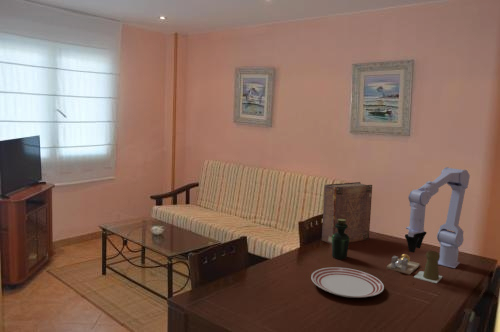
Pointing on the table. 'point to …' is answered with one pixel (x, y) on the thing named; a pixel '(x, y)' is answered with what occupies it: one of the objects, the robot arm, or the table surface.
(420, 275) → the pale green mat
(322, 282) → the dinner plate
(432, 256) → the olive stepped cylinder
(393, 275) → the table surface
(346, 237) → the potion bottle
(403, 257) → the shaft
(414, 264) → the shaft bracket
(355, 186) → the book
